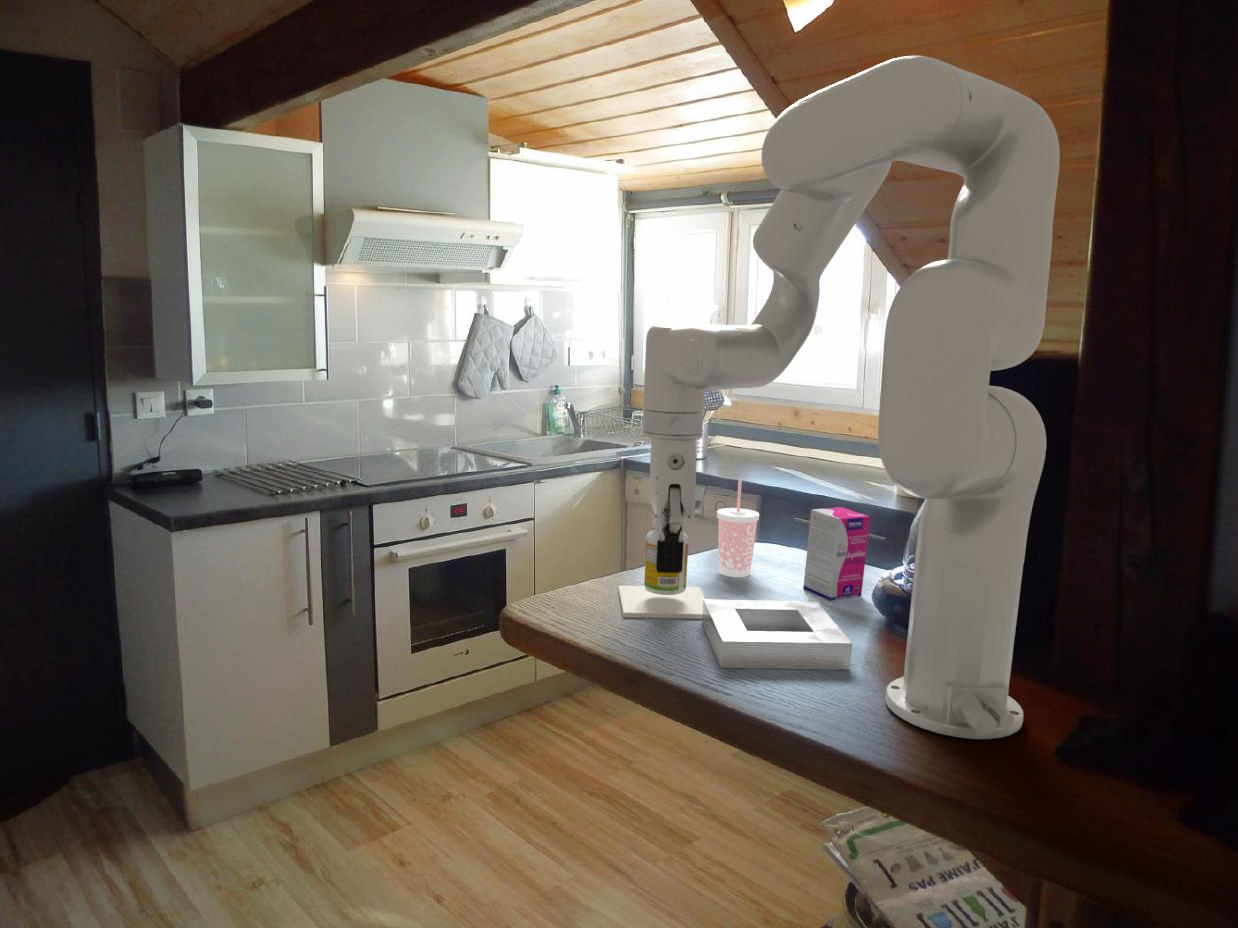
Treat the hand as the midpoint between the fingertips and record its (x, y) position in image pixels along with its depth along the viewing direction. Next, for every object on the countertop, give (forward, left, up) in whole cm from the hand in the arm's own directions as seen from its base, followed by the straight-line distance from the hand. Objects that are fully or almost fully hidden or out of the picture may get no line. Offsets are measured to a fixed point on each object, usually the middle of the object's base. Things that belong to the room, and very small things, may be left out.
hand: (666, 563), depth 117 cm
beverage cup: (+15, -12, -6) cm, 20 cm away
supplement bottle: (0, 0, -4) cm, 4 cm away
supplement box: (+6, -24, -6) cm, 25 cm away
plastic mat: (0, 0, -5) cm, 5 cm away
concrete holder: (-14, -11, -5) cm, 18 cm away
